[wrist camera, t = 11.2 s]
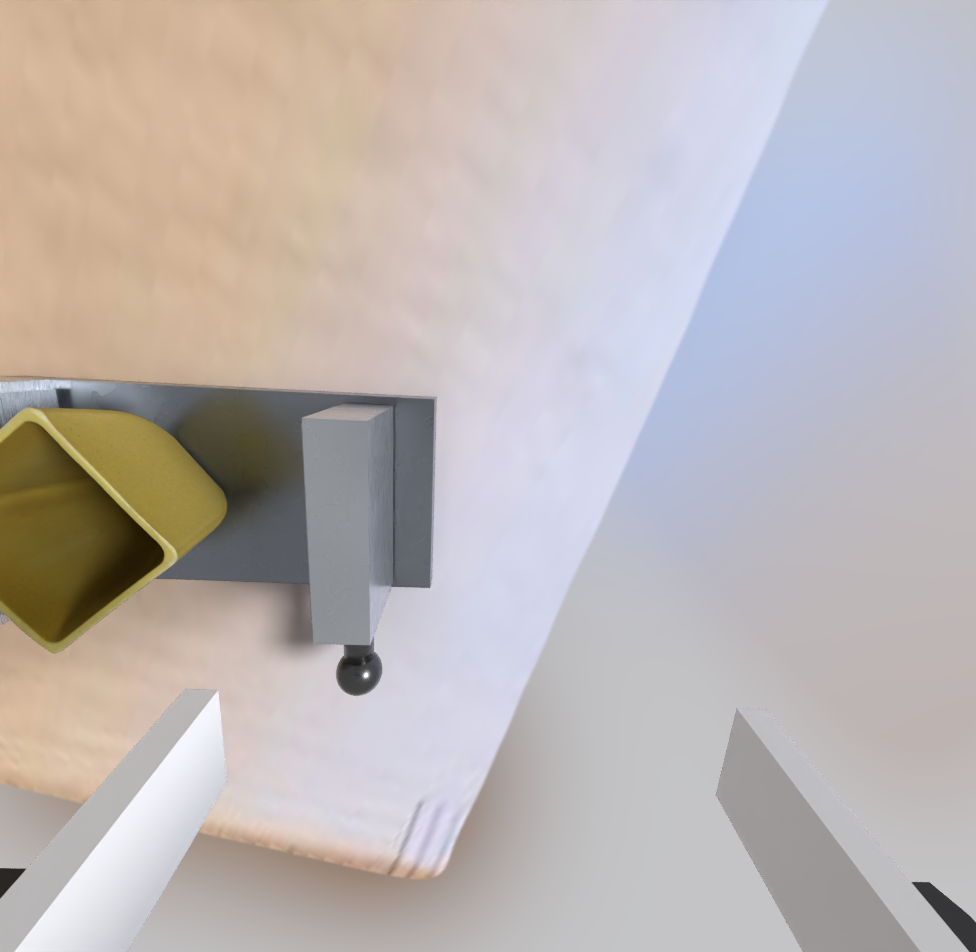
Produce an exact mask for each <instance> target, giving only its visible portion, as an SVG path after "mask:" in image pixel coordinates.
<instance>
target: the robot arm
mask: <svg viewBox="0 0 976 952" xmlns="http://www.w3.org/2000/svg"><path fill="white" fill-rule="evenodd" d="M226 783H227V776H226V766H225V756H224V745H223V735H222V725H221V715H220V705H219V694H218V690H200V689H185V690H184V691H183V692H182V693H181V694H180V695H179V697H178V698H177V699H176V700H175V701H174V702H173V703H172V704H171V706H170V707H169V708H168V709H167V710H166V711H165V712H164V714H163V715H162V716H161V717H160V718H159V719H158V720H157V721H156V723H155V724H154V725H153V726H152V727H151V728H150V729H149V731H148V732H147V733H146V734H145V735H144V736H143V737H142V739H141V740H140V741H139V742H138V743H137V744H136V745H135V746H134V748H133V749H132V750H131V751H130V752H129V753H128V754H127V756H126V757H125V758H124V759H123V760H122V761H121V762H120V763H119V765H118V766H117V767H116V768H115V769H114V770H113V771H112V773H111V774H110V775H109V776H108V777H107V778H106V779H105V781H104V782H103V783H102V784H101V785H100V786H99V787H98V788H97V790H96V791H95V792H94V793H93V794H92V795H91V796H90V798H89V799H88V800H87V801H86V802H85V803H84V804H83V805H82V807H81V808H80V809H79V810H78V811H77V812H76V814H75V815H74V816H73V817H72V818H71V819H70V820H69V821H68V822H67V824H66V825H65V826H64V827H63V828H62V829H61V830H60V832H59V833H58V834H57V835H56V836H55V837H54V838H53V840H52V841H51V842H50V843H49V844H48V845H47V846H46V848H45V849H44V850H43V851H42V852H41V853H40V854H39V855H38V857H37V858H36V859H35V860H34V861H33V862H32V863H31V864H30V866H29V867H28V868H27V869H11V868H10V869H9V868H0V952H128V950H129V948H130V947H131V945H132V943H133V942H134V940H135V938H136V936H137V934H138V933H139V931H140V930H141V928H142V926H143V925H144V923H145V921H146V920H147V918H148V916H149V914H150V913H151V911H152V909H153V908H154V906H155V904H156V903H157V901H158V899H159V897H160V896H161V894H162V892H163V891H164V889H165V887H166V885H167V884H168V882H169V880H170V879H171V877H172V875H173V873H174V872H175V870H176V868H177V867H178V865H179V863H180V861H181V860H182V858H183V856H184V855H185V853H186V851H187V850H188V848H189V846H190V845H191V843H192V841H193V839H194V838H195V836H196V834H197V833H198V831H199V829H200V828H201V826H202V824H203V822H204V821H205V819H206V817H207V816H208V814H209V812H210V811H211V809H212V807H213V805H214V804H215V802H216V800H217V799H218V797H219V795H220V793H221V792H222V790H223V788H224V787H225V785H226ZM716 796H717V798H718V800H719V801H720V803H721V805H722V807H723V809H724V810H725V812H726V814H727V816H728V818H729V819H730V821H731V823H732V825H733V827H734V828H735V830H736V832H737V834H738V836H739V837H740V839H741V841H742V842H743V845H744V846H745V848H746V850H747V852H748V854H749V855H750V857H751V859H752V861H753V863H754V864H755V866H756V868H757V870H758V872H759V873H760V875H761V877H762V879H763V881H764V882H765V884H766V886H767V888H768V890H769V891H770V893H771V895H772V897H773V899H774V900H775V902H776V904H777V906H778V908H779V909H780V911H781V913H782V915H783V917H784V918H785V920H786V922H787V924H788V925H789V928H790V929H791V931H792V933H793V935H794V936H795V938H796V940H797V942H798V944H799V946H800V947H801V949H802V951H803V952H976V922H975V921H974V920H973V919H972V918H971V917H970V916H969V915H968V914H967V913H966V912H964V911H963V910H962V909H961V908H960V907H958V906H957V905H956V904H955V903H953V902H952V901H951V900H950V899H949V898H948V897H946V896H945V895H944V894H943V893H942V892H940V891H939V890H938V889H937V888H935V887H934V886H933V885H932V884H931V883H929V882H911V881H910V880H909V879H908V878H907V877H906V875H905V874H904V873H903V872H902V871H901V869H900V868H899V867H898V866H897V865H896V864H895V862H894V861H893V860H892V859H891V857H890V856H889V855H888V854H887V853H886V852H885V850H884V849H883V848H882V847H881V846H880V844H879V843H878V842H877V841H876V840H875V838H874V837H873V836H872V835H871V834H870V832H869V831H868V830H867V829H866V828H865V826H864V825H863V824H862V823H861V822H860V821H859V819H858V818H857V817H856V816H855V814H854V813H853V812H852V811H851V810H850V809H849V807H848V806H847V805H846V804H845V803H844V801H843V800H842V799H841V798H840V797H839V795H838V794H837V793H836V792H835V791H834V789H833V788H832V787H831V786H830V785H829V783H828V782H827V781H826V780H825V779H824V777H823V776H822V775H821V774H820V773H819V772H818V770H817V769H816V768H815V767H814V765H813V764H812V763H811V762H810V761H809V760H808V758H807V757H806V756H805V755H804V753H803V752H802V751H801V750H800V749H799V747H798V746H797V745H796V744H795V743H794V742H793V740H792V739H791V738H790V737H789V736H788V734H787V733H786V732H785V731H784V730H783V729H782V727H781V726H780V725H779V724H778V723H777V721H776V720H775V719H774V718H773V716H772V715H771V714H770V713H769V712H768V710H767V709H753V708H752V709H751V708H737V709H736V713H735V717H734V721H733V725H732V730H731V734H730V738H729V742H728V746H727V750H726V754H725V759H724V763H723V767H722V771H721V775H720V780H719V783H718V788H717V792H716Z"/></svg>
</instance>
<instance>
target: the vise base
mask: <svg viewBox="0 0 976 952" xmlns="http://www.w3.org/2000/svg"><path fill="white" fill-rule="evenodd" d="M436 398H437V397H421V396H402V395H383V394H364V393H344V392H325V391H306V390H286V389H267V388H248V387H229V386H209V385H190V384H171V383H151V382H132V381H113V380H94V379H74V378H55V377H36V376H7V377H0V429H1V428H2V427H3V426H4V425H5V424H6V423H7V422H8V421H10V419H11V418H13V417H14V416H15V415H16V414H17V413H18V412H20V411H21V410H22V409H24V408H26V407H35V408H68V409H96V410H113V411H121V412H126V413H130V414H134V415H137V416H139V417H142V418H144V419H147V420H149V421H151V422H152V423H154V424H156V425H158V426H159V427H161V428H162V429H164V430H165V431H166V432H168V433H169V434H170V435H172V436H173V437H174V438H175V439H176V440H177V441H178V442H179V443H180V444H181V446H182V447H183V448H184V449H185V450H186V451H187V452H188V453H189V455H190V456H191V457H192V458H193V459H194V460H195V461H196V462H197V463H198V464H199V465H200V466H201V467H202V469H203V470H204V471H205V472H206V473H207V474H208V475H209V476H210V477H211V478H212V479H213V480H214V482H216V484H217V485H218V486H219V487H220V488H221V489H222V490H223V492H224V494H225V497H226V500H227V511H226V514H225V517H224V519H223V520H222V522H221V523H220V524H219V525H218V526H217V527H216V528H215V529H214V530H213V531H212V532H211V533H210V534H209V535H208V536H206V537H205V538H204V539H203V540H202V541H201V542H199V543H198V544H197V545H196V546H195V547H194V548H192V549H191V550H190V551H189V552H188V553H187V554H186V555H184V556H183V557H182V558H181V559H180V560H178V561H177V562H176V563H175V564H174V565H172V566H171V567H170V568H168V569H167V570H166V571H164V572H163V573H162V574H160V575H159V576H158V577H156V579H185V580H215V581H244V582H273V583H303V584H309V566H308V546H307V527H306V507H305V487H304V468H303V448H302V428H301V423H302V418H303V417H306V416H308V415H311V414H314V413H317V412H320V411H323V410H326V409H329V408H332V407H335V406H338V405H341V404H344V403H348V404H368V405H388V406H393V584H392V587H420V588H430V586H431V581H432V560H433V520H434V479H435V439H436ZM9 620H10V619H9V618H8V617H7V616H6V615H4V614H3V613H2V612H1V611H0V625H2V624H4V623H6V622H7V621H9Z"/></svg>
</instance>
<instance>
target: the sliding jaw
mask: <svg viewBox="0 0 976 952" xmlns="http://www.w3.org/2000/svg"><path fill="white" fill-rule="evenodd" d="M301 428H302V448H303V468H304V487H305V507H306V527H307V546H308V566H309V586H310V605H311V619H312V631H313V644H341V645H344V656H343V657H342V658H341V660H340V662H339V663H338V666H337V670H336V678H337V682H338V685H339V686H340V688H341V689H342V690H343V691H344V692H346V693H347V694H350V695H353V696H360V695H364V694H367V693H369V692H370V691H371V690H373V689H374V688H375V687H376V685H377V684H378V682H379V681H380V678H381V675H382V663H381V660H380V658H379V656H378V655H377V654H376V653H375V652H374V634H375V631H376V628H377V625H378V623H379V620H380V617H381V614H382V612H383V609H384V606H385V603H386V601H387V598H388V595H389V592H390V590H391V587H392V584H393V406H388V405H368V404H348V403H344V404H341V405H338V406H335V407H332V408H329V409H326V410H323V411H320V412H317V413H314V414H311V415H308V416H306V417H303V418H302V423H301Z"/></svg>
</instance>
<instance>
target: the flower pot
mask: <svg viewBox="0 0 976 952" xmlns="http://www.w3.org/2000/svg"><path fill="white" fill-rule="evenodd" d="M226 511H227V500H226V497H225V494H224V492H223V490H222V489H221V488H220V487H219V486H218V485H217V484H216V482H214V480H213V479H212V478H211V477H210V476H209V475H208V474H207V473H206V472H205V471H204V470H203V469H202V467H201V466H200V465H199V464H198V463H197V462H196V461H195V460H194V459H193V458H192V457H191V456H190V455H189V453H188V452H187V451H186V450H185V449H184V448H183V447H182V446H181V444H180V443H179V442H178V441H177V440H176V439H175V438H174V437H173V436H172V435H170V434H169V433H168V432H166V431H165V430H164V429H162V428H161V427H159V426H158V425H156V424H154V423H152V422H151V421H149V420H147V419H144V418H142V417H139V416H137V415H134V414H130V413H126V412H121V411H113V410H96V409H68V408H35V407H26V408H24V409H22V410H21V411H20V412H18V413H17V414H16V415H15V416H14V417H13V418H11V419H10V421H8V422H7V423H6V424H5V425H4V426H3V427H2V428H1V429H0V611H1V612H2V613H3V614H4V615H6V616H7V617H8V618H9V619H10V620H11V621H13V622H14V623H15V624H16V625H17V626H18V627H19V628H20V629H21V630H22V631H23V632H25V633H26V634H27V635H28V636H29V637H31V638H32V639H33V640H34V641H35V642H37V643H38V644H40V645H41V646H42V647H44V648H45V649H47V650H48V651H50V652H52V653H58V652H60V651H62V650H64V649H65V648H66V647H68V646H69V645H70V644H71V643H73V642H74V641H75V640H76V639H78V638H79V637H80V636H81V635H83V634H84V633H85V632H86V631H88V630H89V629H90V628H91V627H93V626H94V625H95V624H96V623H98V622H99V621H100V620H102V619H103V618H104V617H105V616H107V615H108V614H109V613H110V612H112V611H113V610H114V609H116V608H117V607H118V606H119V605H121V604H122V603H123V602H125V601H126V600H127V599H128V598H130V597H131V596H132V595H134V594H135V593H136V592H138V591H139V590H140V589H142V588H143V587H144V586H146V585H147V584H148V583H150V582H151V581H152V580H154V579H155V578H156V577H158V576H159V575H160V574H162V573H163V572H164V571H166V570H167V569H168V568H170V567H171V566H172V565H174V564H175V563H176V562H177V561H178V560H180V559H181V558H182V557H183V556H184V555H186V554H187V553H188V552H189V551H190V550H191V549H192V548H194V547H195V546H196V545H197V544H198V543H199V542H201V541H202V540H203V539H204V538H205V537H206V536H208V535H209V534H210V533H211V532H212V531H213V530H214V529H215V528H216V527H217V526H218V525H219V524H220V523H221V522H222V520H223V519H224V517H225V514H226Z"/></svg>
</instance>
